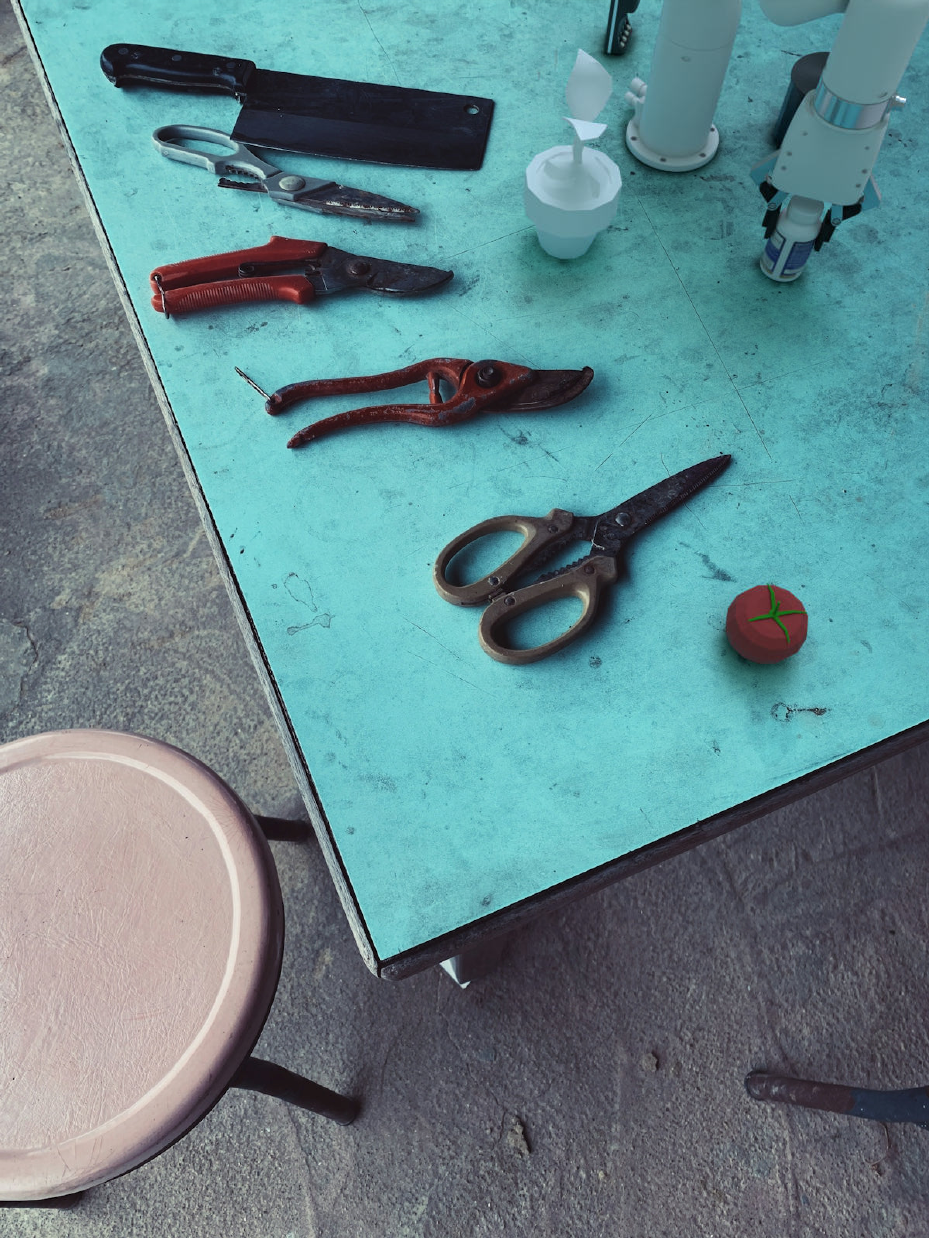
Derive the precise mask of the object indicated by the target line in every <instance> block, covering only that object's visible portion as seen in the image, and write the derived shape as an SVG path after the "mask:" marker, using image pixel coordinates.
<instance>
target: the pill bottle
mask: <svg viewBox="0 0 929 1238" xmlns="http://www.w3.org/2000/svg"><path fill="white" fill-rule="evenodd" d="M824 209H825V202H824V201H819V200H815V199H811V198H807V197H803V196H799V195H795V194H792V196H791V197H790V200H789V201H788V204H787V206H786V207H784V208H783V209H782V210H780V214H779V217H778V219H777V222H776V224H775V227H774V229H773V232H772V234H771V237H770V239H769V238H768V239H767V242H766V244H765V248H764V250H763V252H762V255H761V258H760V261H759V265H760V269H761V271H762V272H763V273H764V274H765V275H766V276H767V277H768V278H770V279H771V280H773V281H778V282H782V283H786V282H791V281H794V280H796V279H797V278H799V277H800V276H801V274H802V272H803V271H804V269H805V266H806V265H807V262H808V260H809V257H810V256H811V253H812V251H813V250H814V245H815V242H816V240H817V238H818V235H819V233H820V231H821V228H822V222H823V220H822V218H821V217H822V214H823V213H824Z"/></svg>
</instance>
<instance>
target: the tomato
mask: <svg viewBox="0 0 929 1238" xmlns="http://www.w3.org/2000/svg"><path fill="white" fill-rule="evenodd" d="M808 628H809V615H808V612H807V611H806V609H805V606H804V603H803V602H802V601H801V600H800V599H799V598H798V597H797V596H796V595H795V594H794V593H793V592H791V591H790V590H788V589H785V588H783V587H780V586H778V585H775V584H769V582H766V584H757V585H755V586H753V587H750V588H749V589H747V590H744V591H743V592H741V593H739V594H737V595H736V596H735V597H734V599H733V600H732V602H731V603H730V604H729V605H728V607H727V611H726V617H725V628H724V629H725V630H724V631H725V634H726V636H727V640H728V642H729V644H730V647H732V649H734V650H735V651H736V652H737V653H738V654H739V655H740V656H741V657H742V658H744V659H746V660H749V661H750V662H754V663H756V664H759V665H772V664H773V665H774V664H778V663H780V662H782V661H784V660H787V659H789V658H790V657H792V656H793V655H796V654H797V653H799V651H800V650H801V648H802V647H803V645H804V644H805V642H806V641H807V637H808V630H809V629H808Z"/></svg>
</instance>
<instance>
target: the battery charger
mask: <svg viewBox="0 0 929 1238" xmlns="http://www.w3.org/2000/svg"><path fill="white" fill-rule="evenodd" d="M640 3H641V0H610V4H609V9H608V10H609V11H608V17H607V25H606V32H605V38H604V45H603V51H604V52H605V53H606V54H616V55H622V54H623V53H625V52H626V51H627V47H628V45H629V42H630V40H631V37H632V34H633V27H632V26H631V23H630V19H629V15H628V14H634V13H636V11H637V10H638V8H639V5H640Z"/></svg>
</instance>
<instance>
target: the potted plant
mask: <svg viewBox="0 0 929 1238" xmlns="http://www.w3.org/2000/svg"><path fill="white" fill-rule="evenodd" d="M558 46H559V43H557V45H556V48H559V47H558ZM554 51H555V62H554V70H556V68H557V64H558V49H556V50H554ZM536 73H537V82H539V81H540V79H541V78H542V76H541V73H540V69H538V70H536ZM548 86H549V85H547V88H546V89H545V90H546V91H548V89H549V87H548ZM564 94H565V100H566V105H567V107H568V110H569V112H570V115H571V117H572V118H570V117H565V116H561V118H560V119H561V120H562V121H565V122H567V124H569V126H571V127H572V128H573V130H574V138H573V141H572V144H571V145H570V144H567V145H555V146H553V147H552V146H551V147H550V148H548V149H545V150H544V151H541V152H538V153H537V154H535V156H534V157H533V158H532V160H531V161H530V163H529V164H528V166H527V167H526V168H525V172H524V184H523V185H524V186H523V206H524V213H525V214H524V215H525V216H526V217H527V218H528V219H529V220H530V221H531V222H532V223H533V225H534V229H535V231H536V232H535V233H536V234H537V238H538V243H539V245H540V247H541V248H542V249H543V250H544V251H545V252H546V253H547V255H549V256H551V257H554V258H557V259H560V260H562V259H563V260H567V259H569V260H570V259H576V258H579V257H580V256H583V255H585V254H586V253H587V252H588V250H589V248H590V246H591V245H592V243H593V242H594V240H595V238H596V237H597V235H598V233H599V232H601V231H603V230H606V229H607V228H608V227H609V225H610V224H611V222H612V221H613V219H614V217H615V216H616V214H617V213H618V207H619V203H620V198H621V192H622V186H623V181H622V176H621V172H620V167H619V165H617V163H615V162H614V161H613V160H612V159H611V158H610V157H609V156H608V155H607V154H606V153H605V152H603V151H600V150H597V149H594V148H592V147H588V146H585V145H586V143H587V142H591V141H592V142H593V141H598V140H599V139H600V138H601V136H603V135H604V133H605V132H606V131H607V129H609V125H608V124H606V123H599V122H595V120H596V119H597V117H598V116H599V115H600V114H601V112H602V111H603V109H604V108H605V107H606V104H607V103H608V101H609V99H610V98H611V96H612V95H613V77H612V75H611V74H610V73H609V72H608V71H607V70H606V69H605V67H604V66H603V65H602V64H601V63H600V62H599V61H598V60H597V59H595V57H593V56H592V55H590V54H588V53H587V52H586V51H584V50H583V49H582V48H579V49H578V52H577V56H576V59H575V63H574V65H573V67H572V69H571V71H570V74H569V76H568V80H567V82H566V86H565V88H564ZM545 99H546V100H547V99H548V96H546V98H545Z"/></svg>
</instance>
